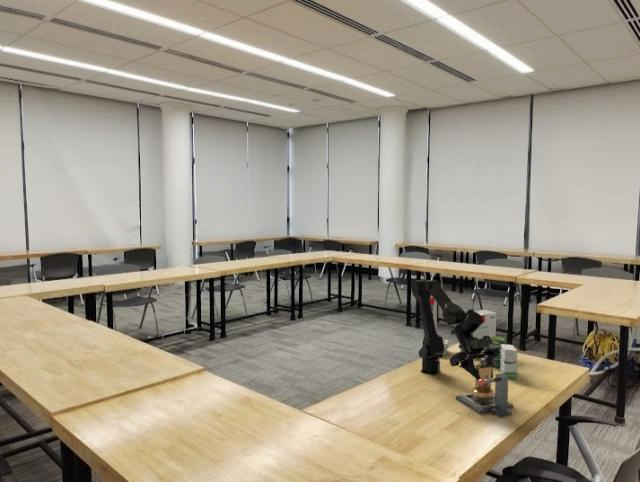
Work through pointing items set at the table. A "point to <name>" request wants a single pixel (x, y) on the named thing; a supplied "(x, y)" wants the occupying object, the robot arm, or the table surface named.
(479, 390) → the amber cylindrical piece
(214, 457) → the table surface
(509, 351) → the ink box
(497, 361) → the coffee box
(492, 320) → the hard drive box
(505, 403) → the press bed
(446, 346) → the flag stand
